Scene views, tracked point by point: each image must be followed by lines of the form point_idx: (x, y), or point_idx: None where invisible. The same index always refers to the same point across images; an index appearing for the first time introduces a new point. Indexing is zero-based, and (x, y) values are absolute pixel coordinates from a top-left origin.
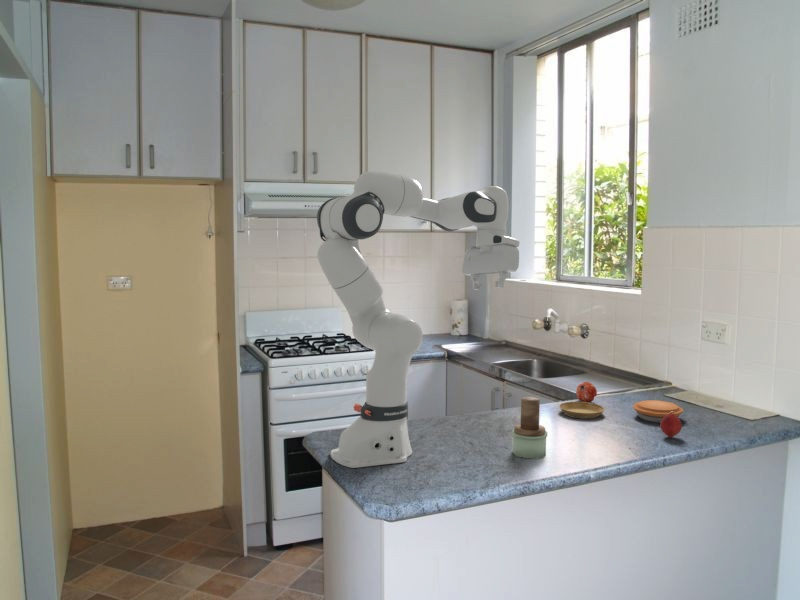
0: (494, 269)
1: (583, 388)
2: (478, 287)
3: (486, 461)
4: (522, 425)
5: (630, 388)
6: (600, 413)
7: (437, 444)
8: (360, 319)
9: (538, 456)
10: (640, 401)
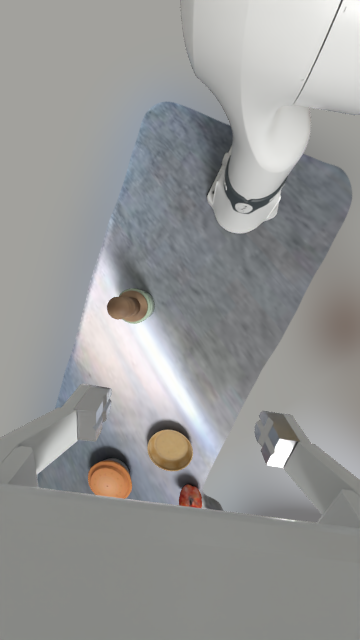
0: (26, 504)
1: (189, 499)
2: (263, 432)
3: (154, 259)
4: (132, 297)
5: None
6: (149, 446)
7: (218, 264)
8: None
9: None
10: (125, 488)
